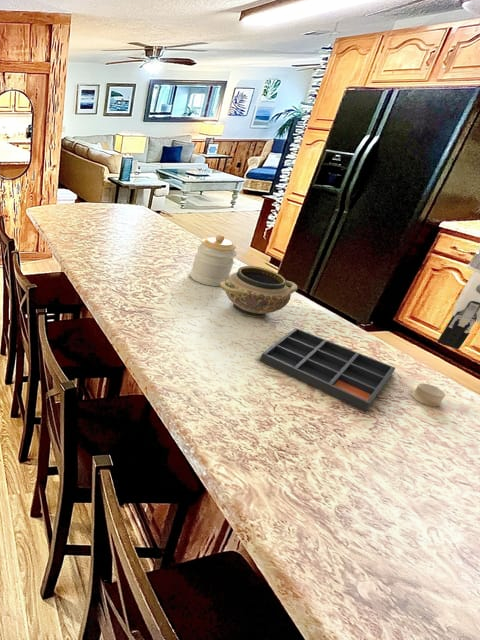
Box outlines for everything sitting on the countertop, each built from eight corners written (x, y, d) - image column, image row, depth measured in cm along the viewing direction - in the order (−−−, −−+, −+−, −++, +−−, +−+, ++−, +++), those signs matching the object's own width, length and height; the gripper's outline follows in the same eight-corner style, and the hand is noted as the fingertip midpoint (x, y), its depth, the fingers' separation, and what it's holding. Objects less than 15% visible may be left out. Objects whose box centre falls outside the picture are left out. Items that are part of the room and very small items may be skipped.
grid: (391, 375, 98) (395, 367, 96) (365, 412, 86) (370, 404, 85) (292, 334, 113) (295, 327, 112) (259, 360, 102) (262, 353, 101)
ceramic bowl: (220, 327, 121) (241, 292, 111) (197, 289, 134) (214, 255, 124) (296, 329, 121) (324, 294, 112) (266, 291, 135) (288, 257, 125)
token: (440, 401, 89) (447, 391, 88) (436, 409, 87) (443, 399, 86) (414, 390, 93) (420, 380, 91) (410, 397, 90) (416, 388, 89)
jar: (231, 289, 139) (246, 243, 132) (192, 283, 142) (204, 238, 135) (222, 274, 151) (236, 231, 143) (187, 270, 154) (198, 227, 146)
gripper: (526, 283, 68) (471, 361, 76) (532, 262, 77) (483, 333, 85) (464, 268, 74) (418, 342, 81) (477, 251, 83) (435, 318, 90)
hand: (451, 338), depth 83 cm, fingers open, 9 cm apart
